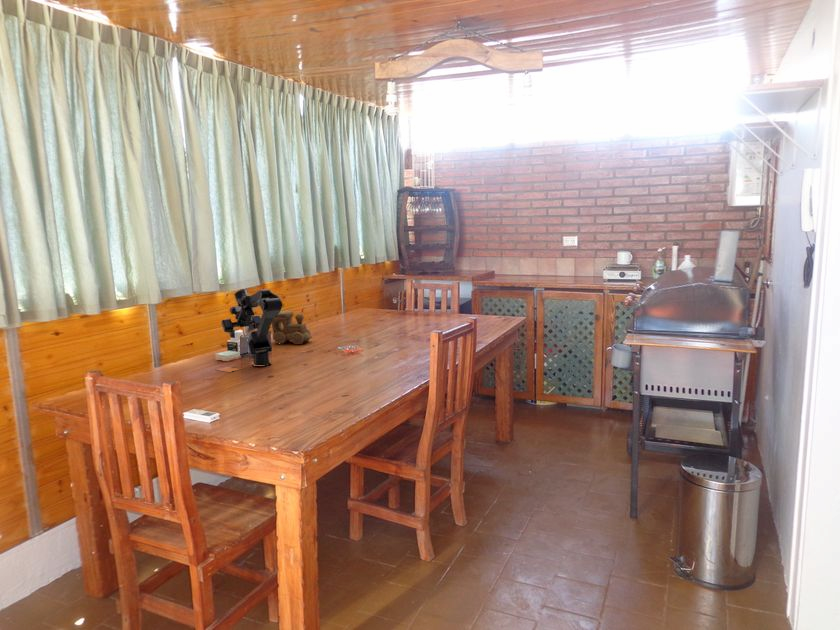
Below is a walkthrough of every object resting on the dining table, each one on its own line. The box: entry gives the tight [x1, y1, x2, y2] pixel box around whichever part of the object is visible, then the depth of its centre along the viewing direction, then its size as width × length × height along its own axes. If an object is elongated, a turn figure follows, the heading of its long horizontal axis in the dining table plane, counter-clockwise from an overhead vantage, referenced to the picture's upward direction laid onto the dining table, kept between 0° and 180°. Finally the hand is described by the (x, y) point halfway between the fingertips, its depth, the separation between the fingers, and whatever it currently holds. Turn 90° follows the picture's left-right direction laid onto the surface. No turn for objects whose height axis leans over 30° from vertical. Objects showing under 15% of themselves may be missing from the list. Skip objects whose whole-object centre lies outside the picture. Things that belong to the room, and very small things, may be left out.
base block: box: [214, 350, 241, 359], centre depth 283 cm, size 8×8×3 cm
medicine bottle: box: [226, 329, 244, 352], centre depth 293 cm, size 7×7×12 cm
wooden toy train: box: [271, 310, 313, 345], centre depth 315 cm, size 20×11×17 cm, turn 77°
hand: (238, 333), depth 290 cm, fingers open, 9 cm apart
